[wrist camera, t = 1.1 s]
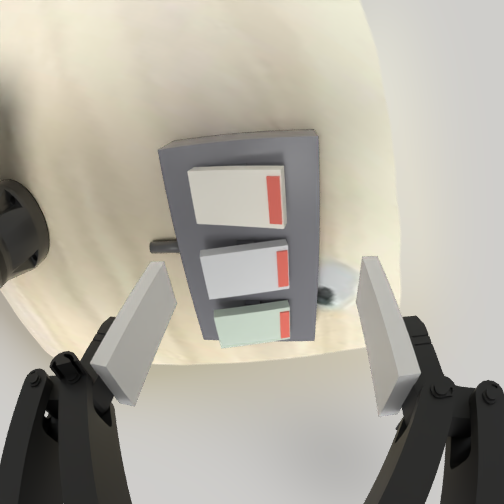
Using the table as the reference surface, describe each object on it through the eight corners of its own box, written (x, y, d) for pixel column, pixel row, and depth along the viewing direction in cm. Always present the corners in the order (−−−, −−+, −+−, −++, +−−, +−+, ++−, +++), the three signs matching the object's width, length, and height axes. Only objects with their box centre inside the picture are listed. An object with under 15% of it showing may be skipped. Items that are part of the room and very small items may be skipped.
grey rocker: (209, 292, 30) (209, 300, 29) (200, 250, 28) (199, 258, 26) (287, 281, 31) (289, 289, 29) (285, 238, 28) (288, 246, 27)
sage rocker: (221, 340, 34) (221, 349, 33) (213, 310, 32) (213, 318, 30) (288, 331, 34) (290, 339, 33) (287, 299, 32) (290, 308, 31)
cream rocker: (202, 218, 28) (195, 224, 27) (193, 167, 25) (186, 172, 24) (286, 222, 25) (283, 230, 24) (283, 165, 23) (279, 170, 22)
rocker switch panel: (177, 317, 41) (167, 340, 37) (131, 148, 29) (109, 160, 25) (312, 318, 39) (314, 345, 35) (313, 129, 26) (319, 137, 22)
